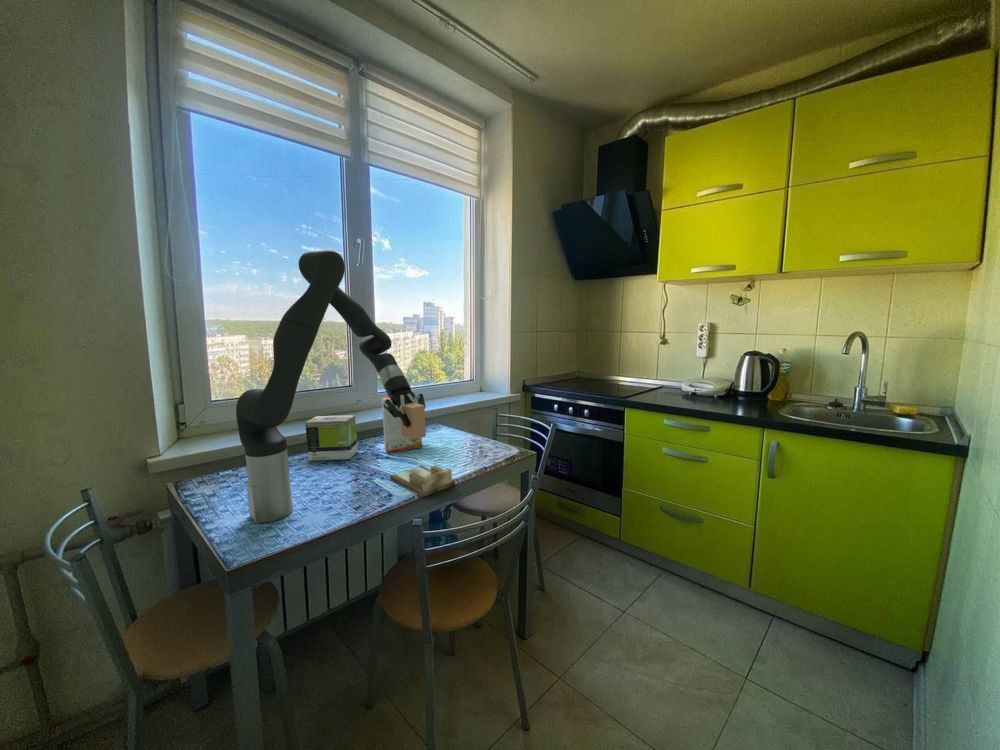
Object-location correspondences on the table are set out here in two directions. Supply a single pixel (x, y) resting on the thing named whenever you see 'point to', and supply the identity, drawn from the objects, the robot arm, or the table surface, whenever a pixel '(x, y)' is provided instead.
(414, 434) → the tall tan block
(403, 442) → the cracker box
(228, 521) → the table surface
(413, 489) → the board
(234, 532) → the table surface
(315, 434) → the tea box
